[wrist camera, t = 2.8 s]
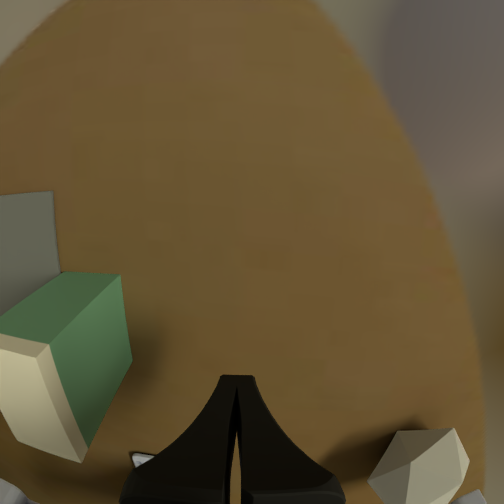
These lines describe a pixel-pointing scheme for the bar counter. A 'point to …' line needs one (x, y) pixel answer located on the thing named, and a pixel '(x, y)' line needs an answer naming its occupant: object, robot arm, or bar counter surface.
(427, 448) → the die
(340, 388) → the bar counter surface
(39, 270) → the mat
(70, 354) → the block
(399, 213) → the bar counter surface
